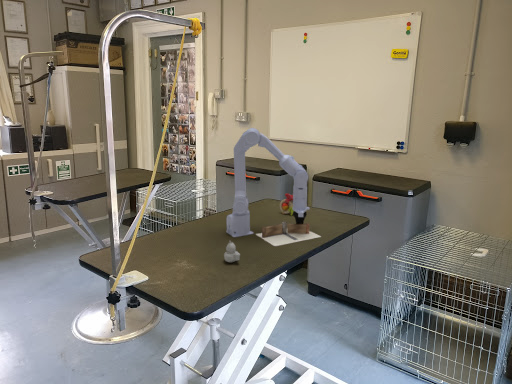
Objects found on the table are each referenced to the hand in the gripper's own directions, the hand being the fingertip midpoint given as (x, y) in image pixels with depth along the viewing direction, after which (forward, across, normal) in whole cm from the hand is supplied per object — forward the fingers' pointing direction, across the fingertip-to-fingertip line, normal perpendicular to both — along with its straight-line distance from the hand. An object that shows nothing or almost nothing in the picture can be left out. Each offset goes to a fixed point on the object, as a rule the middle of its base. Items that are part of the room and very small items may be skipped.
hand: (299, 228), depth 169 cm
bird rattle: (+2, +28, +4) cm, 28 cm away
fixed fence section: (+2, -4, +10) cm, 11 cm away
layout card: (+2, -4, +5) cm, 7 cm away
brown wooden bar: (+1, -2, +1) cm, 2 cm away
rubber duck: (+2, -31, +25) cm, 40 cm away
